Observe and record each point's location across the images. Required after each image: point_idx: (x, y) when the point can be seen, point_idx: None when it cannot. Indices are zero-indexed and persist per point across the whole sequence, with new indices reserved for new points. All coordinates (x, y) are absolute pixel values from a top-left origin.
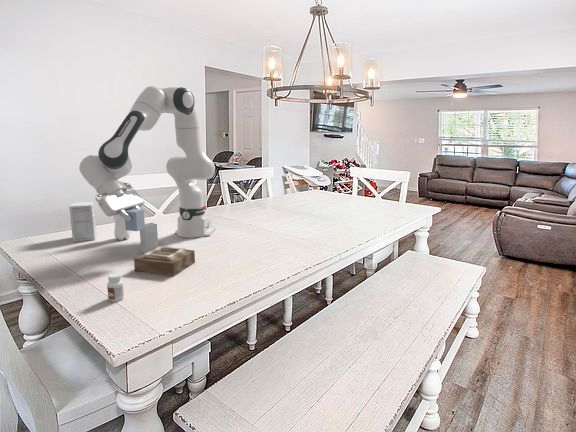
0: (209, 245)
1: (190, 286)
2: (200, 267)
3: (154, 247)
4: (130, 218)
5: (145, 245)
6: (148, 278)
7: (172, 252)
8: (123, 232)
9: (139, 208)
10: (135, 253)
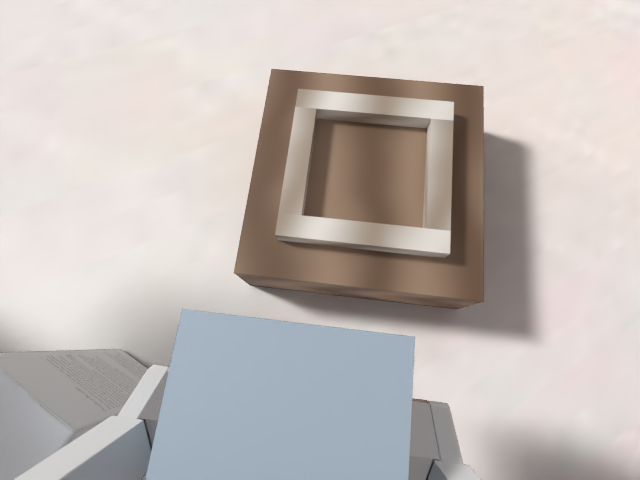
0: (17, 131)
1: (531, 38)
2: (336, 69)
3: (127, 363)
4: (447, 406)
5: None
6: (512, 209)
7: (327, 153)
8: None
9: (47, 467)
10: None
